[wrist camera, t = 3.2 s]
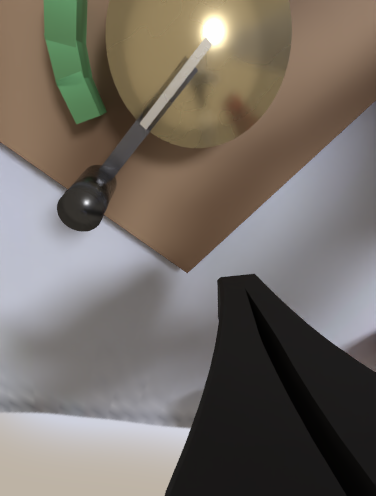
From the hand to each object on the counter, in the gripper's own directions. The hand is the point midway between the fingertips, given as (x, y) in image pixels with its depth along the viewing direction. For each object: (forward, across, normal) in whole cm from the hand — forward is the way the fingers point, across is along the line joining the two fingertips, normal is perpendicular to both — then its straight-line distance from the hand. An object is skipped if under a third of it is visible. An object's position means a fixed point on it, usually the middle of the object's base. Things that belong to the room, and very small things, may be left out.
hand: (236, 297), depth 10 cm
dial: (+4, +2, -6) cm, 8 cm away
